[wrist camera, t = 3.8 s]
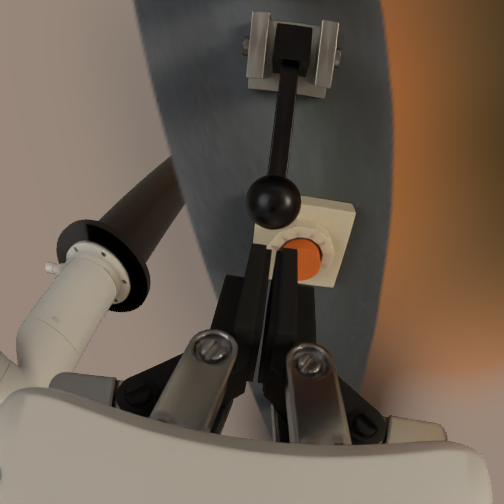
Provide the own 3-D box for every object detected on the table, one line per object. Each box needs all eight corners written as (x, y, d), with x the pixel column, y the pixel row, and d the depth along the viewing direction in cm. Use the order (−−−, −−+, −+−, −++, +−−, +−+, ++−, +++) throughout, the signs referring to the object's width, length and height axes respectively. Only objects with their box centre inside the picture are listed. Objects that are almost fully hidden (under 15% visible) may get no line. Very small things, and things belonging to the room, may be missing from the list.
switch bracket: (323, 97, 25) (344, 112, 16) (249, 88, 25) (227, 96, 16) (332, 30, 20) (357, 8, 12) (255, 20, 21) (237, -8, 12)
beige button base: (251, 265, 36) (247, 287, 33) (259, 189, 31) (256, 205, 27) (331, 276, 36) (334, 298, 33) (352, 203, 30) (359, 221, 27)
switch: (295, 230, 19) (299, 236, 16) (245, 223, 19) (239, 228, 16) (315, 48, 17) (321, 25, 13) (269, 42, 17) (268, 18, 14)
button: (278, 267, 32) (277, 278, 30) (283, 235, 29) (283, 245, 28) (314, 272, 31) (315, 283, 30) (323, 241, 29) (324, 251, 28)
